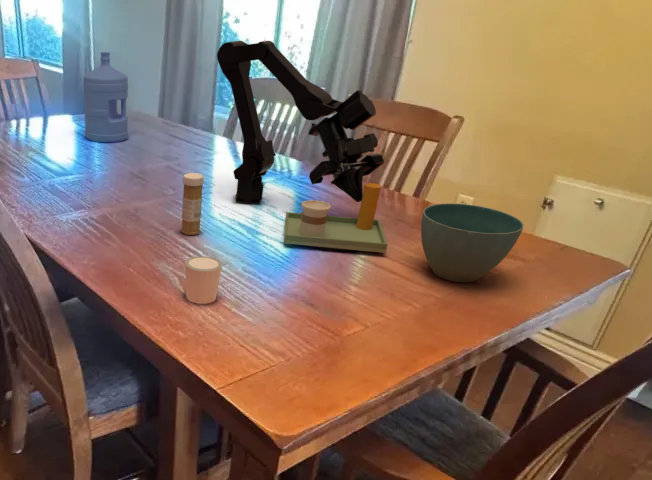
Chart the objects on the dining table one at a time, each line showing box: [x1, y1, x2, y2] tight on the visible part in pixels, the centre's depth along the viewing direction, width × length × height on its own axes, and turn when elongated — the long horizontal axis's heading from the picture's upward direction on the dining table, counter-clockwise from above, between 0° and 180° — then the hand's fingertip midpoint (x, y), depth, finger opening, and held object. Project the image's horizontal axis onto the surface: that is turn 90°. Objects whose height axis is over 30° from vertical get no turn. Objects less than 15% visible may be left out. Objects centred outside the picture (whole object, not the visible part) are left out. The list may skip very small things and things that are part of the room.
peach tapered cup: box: [184, 255, 223, 305], centre depth 114 cm, size 7×7×7 cm
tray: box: [283, 182, 389, 254], centre depth 139 cm, size 22×16×11 cm
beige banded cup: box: [299, 199, 332, 237], centre depth 138 cm, size 6×6×7 cm
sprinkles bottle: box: [180, 172, 205, 236], centre depth 141 cm, size 5×5×14 cm
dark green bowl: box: [420, 202, 525, 283], centre depth 124 cm, size 18×18×12 cm
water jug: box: [82, 51, 129, 143], centre depth 216 cm, size 16×16×28 cm
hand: (360, 201), depth 143 cm, fingers closed
